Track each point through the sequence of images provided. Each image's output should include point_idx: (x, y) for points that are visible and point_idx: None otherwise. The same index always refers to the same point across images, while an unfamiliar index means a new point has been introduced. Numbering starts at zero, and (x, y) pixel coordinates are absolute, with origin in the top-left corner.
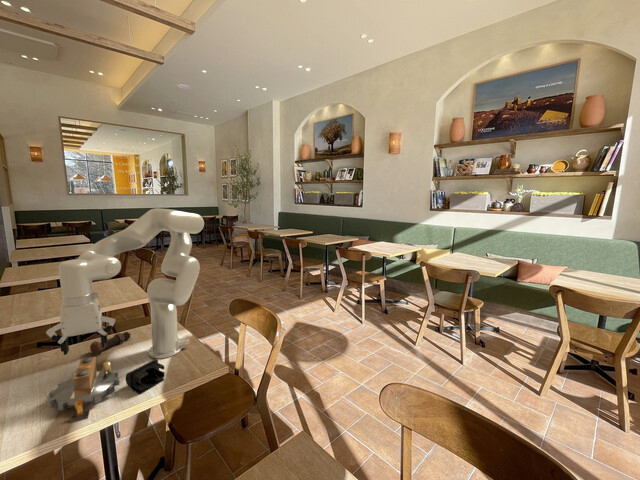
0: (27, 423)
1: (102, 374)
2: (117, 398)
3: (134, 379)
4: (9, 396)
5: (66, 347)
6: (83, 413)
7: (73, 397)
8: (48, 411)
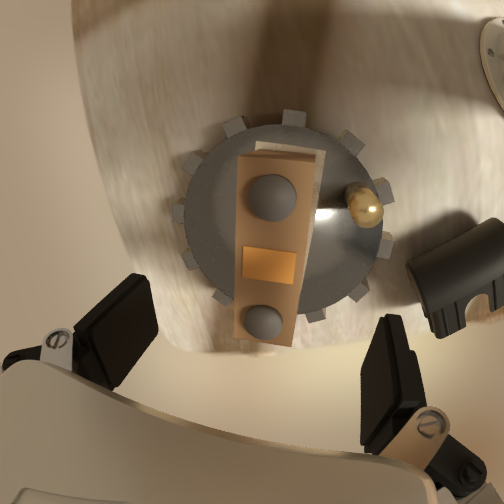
0: (164, 270)
1: (337, 179)
2: None
3: (427, 315)
4: (92, 119)
5: (133, 351)
6: None
7: None
8: None
